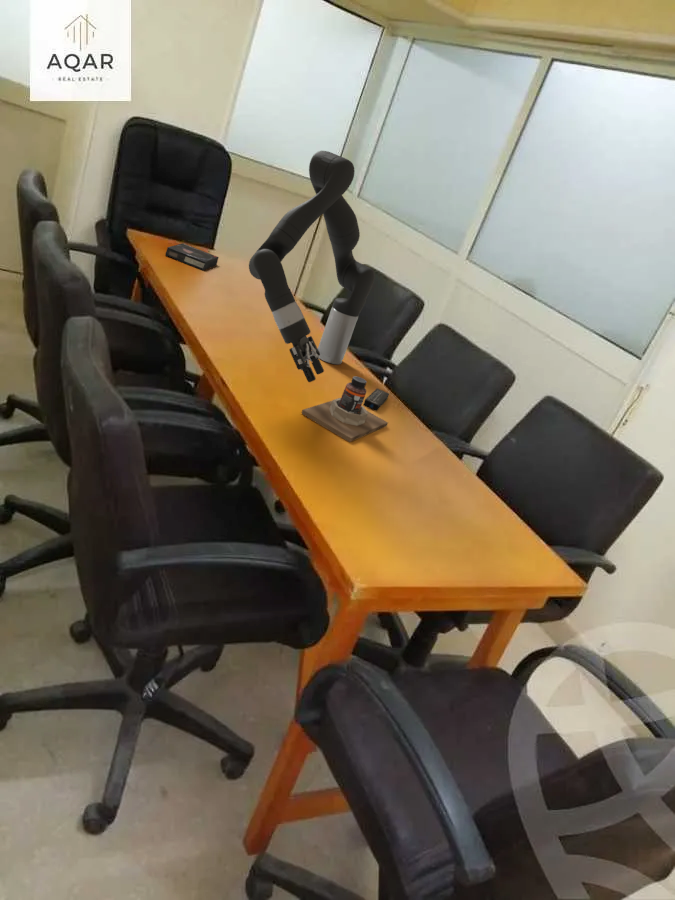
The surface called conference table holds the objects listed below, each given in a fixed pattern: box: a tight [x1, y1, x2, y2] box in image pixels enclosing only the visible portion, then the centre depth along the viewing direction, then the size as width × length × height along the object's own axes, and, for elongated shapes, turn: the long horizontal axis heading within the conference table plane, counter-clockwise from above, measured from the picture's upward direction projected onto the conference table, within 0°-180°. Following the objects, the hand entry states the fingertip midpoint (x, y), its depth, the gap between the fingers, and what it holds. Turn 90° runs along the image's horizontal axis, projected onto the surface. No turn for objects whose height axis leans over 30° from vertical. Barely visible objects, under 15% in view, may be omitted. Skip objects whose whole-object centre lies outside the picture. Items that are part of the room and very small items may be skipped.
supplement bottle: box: [338, 376, 368, 414], centre depth 187 cm, size 6×6×11 cm
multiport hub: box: [362, 388, 390, 412], centre depth 210 cm, size 4×14×2 cm, turn 162°
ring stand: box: [301, 397, 389, 443], centre depth 189 cm, size 22×16×4 cm
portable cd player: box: [164, 243, 219, 271], centre depth 284 cm, size 16×17×4 cm
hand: (316, 377), depth 187 cm, fingers open, 8 cm apart
